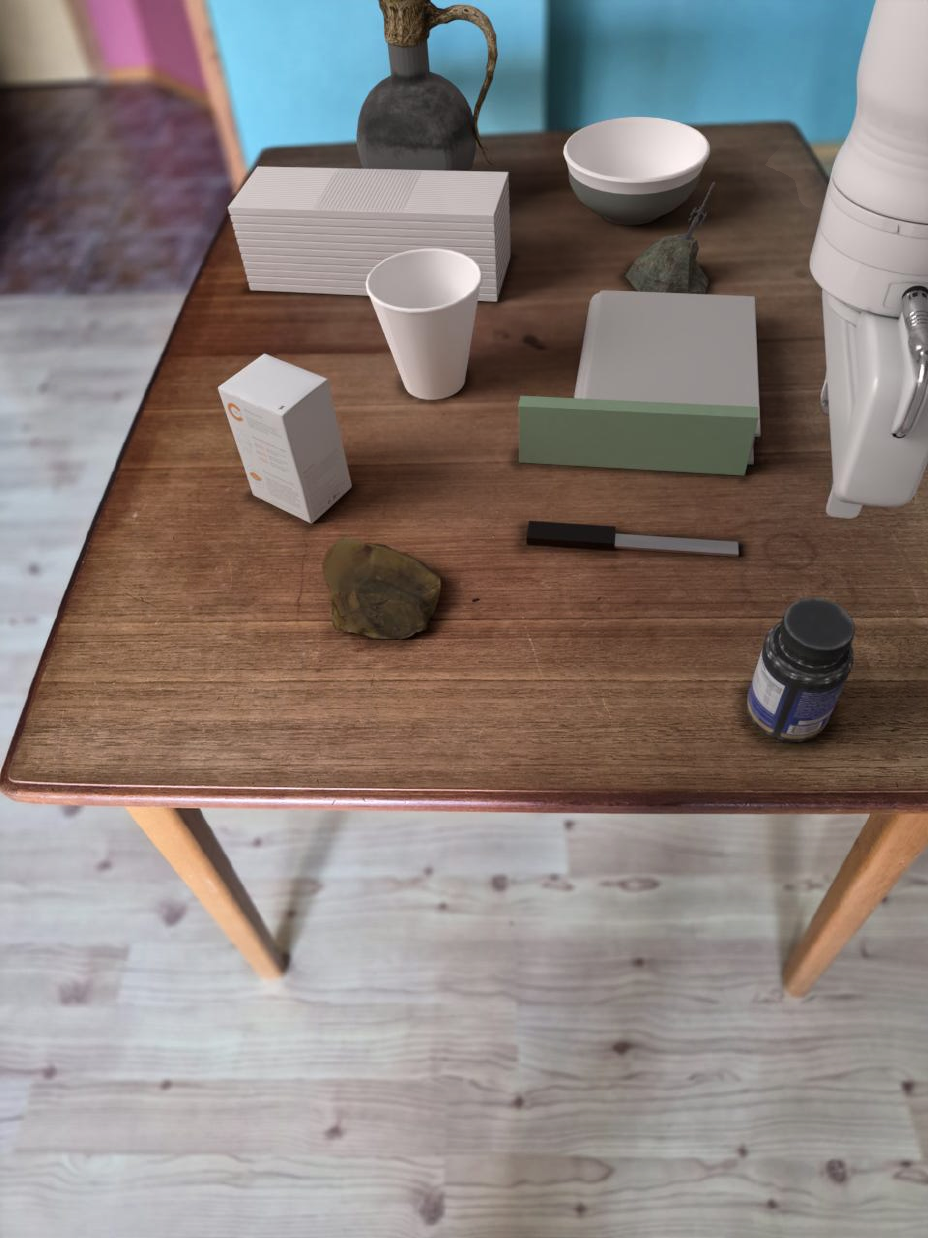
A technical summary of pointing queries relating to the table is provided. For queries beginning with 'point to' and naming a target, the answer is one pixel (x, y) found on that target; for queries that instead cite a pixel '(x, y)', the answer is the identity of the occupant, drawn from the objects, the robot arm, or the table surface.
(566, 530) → the table knife
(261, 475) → the small box
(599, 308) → the white rectangular block
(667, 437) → the green board
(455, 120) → the pitcher
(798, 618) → the pill bottle
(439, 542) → the table surface
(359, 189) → the white ribbed block
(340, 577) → the decorative stone
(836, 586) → the table surface
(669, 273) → the sword in stone
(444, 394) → the cup
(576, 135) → the bowl
